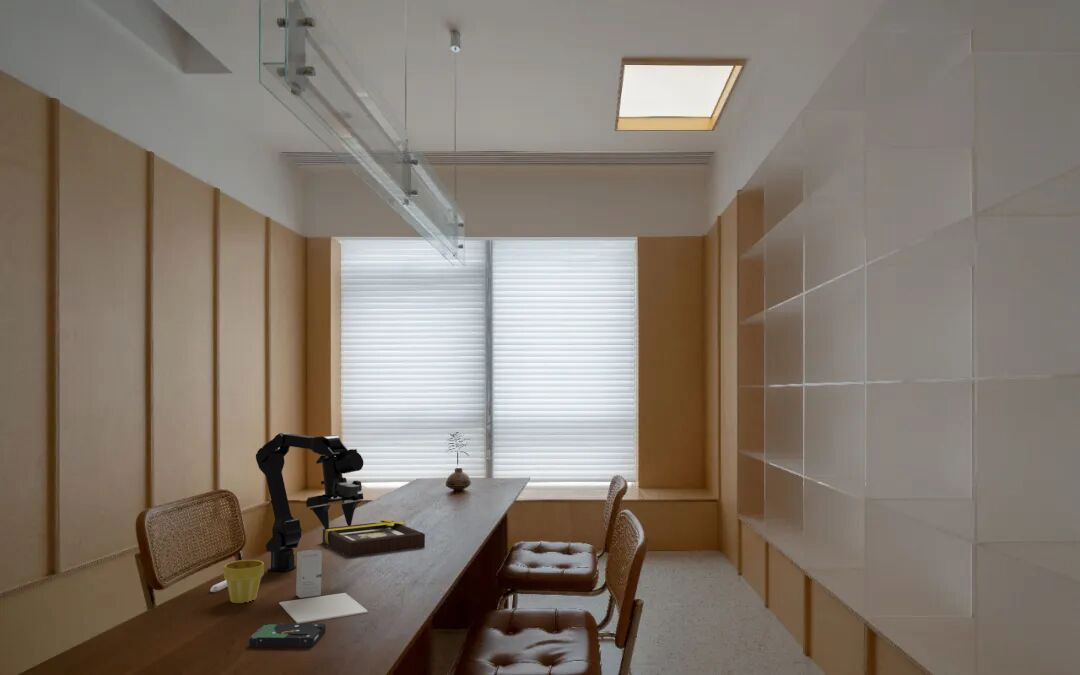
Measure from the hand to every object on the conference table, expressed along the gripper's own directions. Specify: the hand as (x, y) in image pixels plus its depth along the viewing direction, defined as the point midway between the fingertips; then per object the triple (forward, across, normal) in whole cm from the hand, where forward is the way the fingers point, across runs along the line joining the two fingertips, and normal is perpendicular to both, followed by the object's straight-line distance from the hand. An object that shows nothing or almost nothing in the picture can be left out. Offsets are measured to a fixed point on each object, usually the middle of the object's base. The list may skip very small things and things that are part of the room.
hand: (338, 527), depth 236 cm
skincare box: (+17, -16, -2) cm, 24 cm away
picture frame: (+9, +43, +27) cm, 51 cm away
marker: (+12, -21, +26) cm, 35 cm away
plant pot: (+15, -29, +9) cm, 34 cm away
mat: (+20, -23, -15) cm, 34 cm away
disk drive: (+24, -45, -26) cm, 57 cm away
